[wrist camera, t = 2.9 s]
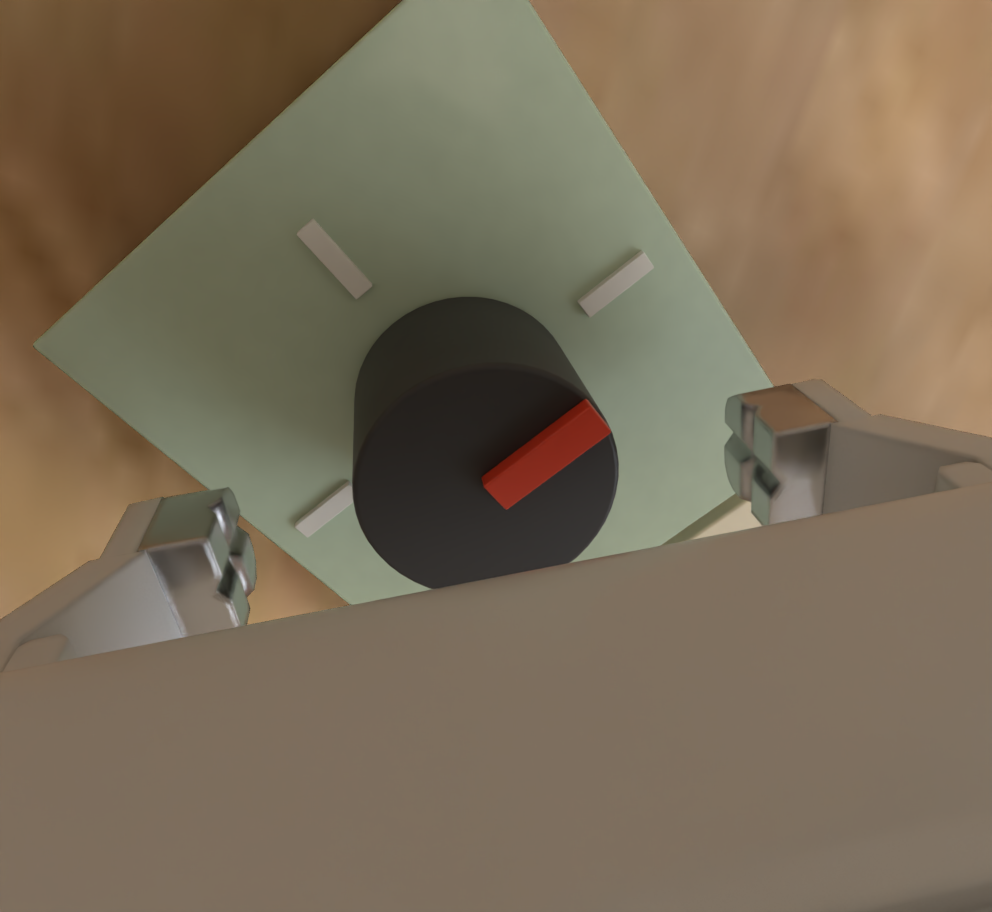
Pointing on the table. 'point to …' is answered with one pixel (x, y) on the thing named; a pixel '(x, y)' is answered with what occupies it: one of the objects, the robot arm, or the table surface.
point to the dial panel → (412, 285)
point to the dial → (477, 446)
